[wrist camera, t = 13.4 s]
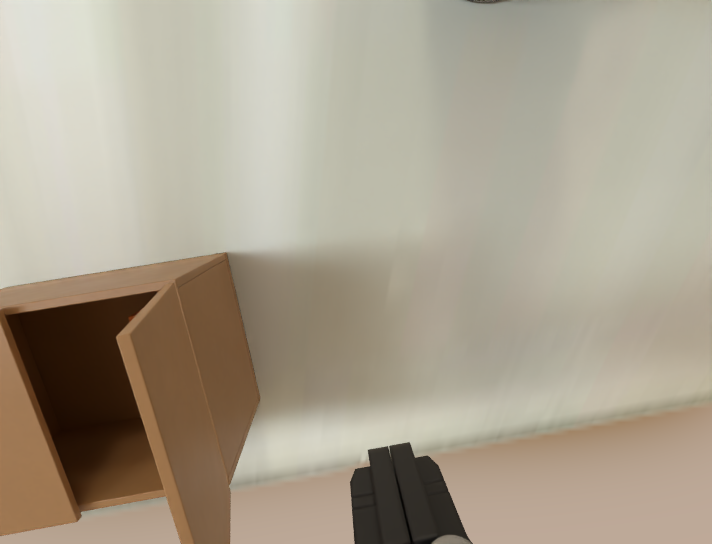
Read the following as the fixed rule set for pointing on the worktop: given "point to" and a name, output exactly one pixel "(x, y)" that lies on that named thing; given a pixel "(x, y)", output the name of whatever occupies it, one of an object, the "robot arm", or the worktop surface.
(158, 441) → the cardboard box flap
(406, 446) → the robot arm
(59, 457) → the open shipping carton
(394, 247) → the worktop surface
